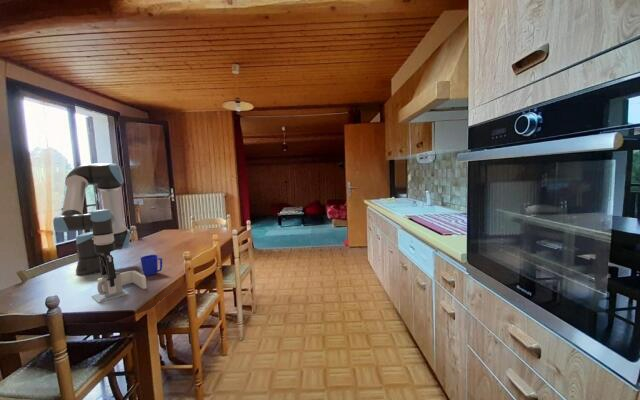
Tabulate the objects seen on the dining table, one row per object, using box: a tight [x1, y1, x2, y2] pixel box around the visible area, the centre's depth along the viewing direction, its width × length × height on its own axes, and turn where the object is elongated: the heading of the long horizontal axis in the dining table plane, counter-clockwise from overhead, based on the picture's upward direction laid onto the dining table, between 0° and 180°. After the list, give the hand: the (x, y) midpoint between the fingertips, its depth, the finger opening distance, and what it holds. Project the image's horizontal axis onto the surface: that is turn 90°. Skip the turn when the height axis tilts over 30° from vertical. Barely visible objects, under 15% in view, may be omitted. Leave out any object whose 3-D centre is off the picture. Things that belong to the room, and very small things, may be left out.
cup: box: [96, 271, 124, 297], centre depth 136 cm, size 7×10×9 cm
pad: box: [91, 288, 130, 304], centre depth 137 cm, size 12×12×1 cm
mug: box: [140, 254, 163, 277], centre depth 165 cm, size 8×12×10 cm
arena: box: [96, 269, 147, 291], centre depth 144 cm, size 17×16×6 cm
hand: (109, 290), depth 137 cm, fingers open, 9 cm apart
